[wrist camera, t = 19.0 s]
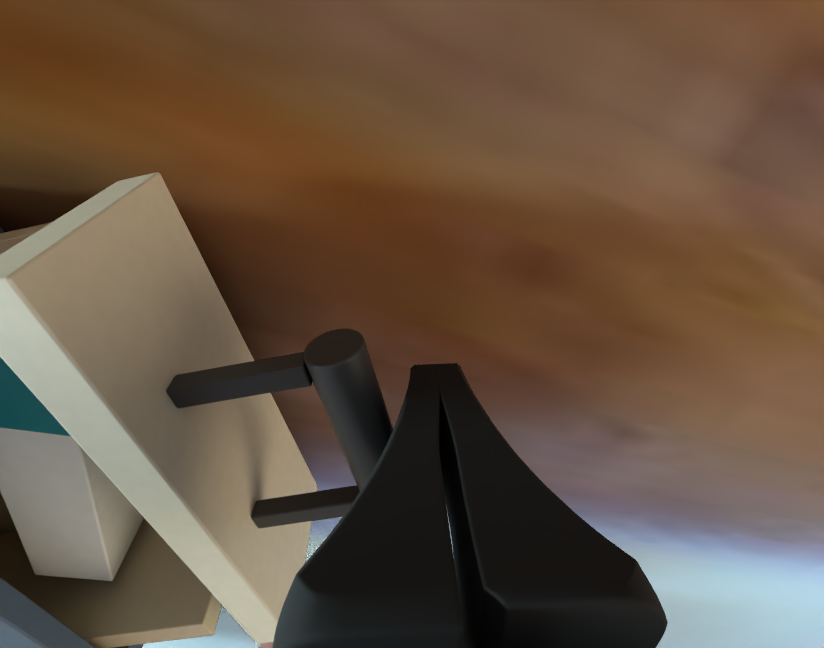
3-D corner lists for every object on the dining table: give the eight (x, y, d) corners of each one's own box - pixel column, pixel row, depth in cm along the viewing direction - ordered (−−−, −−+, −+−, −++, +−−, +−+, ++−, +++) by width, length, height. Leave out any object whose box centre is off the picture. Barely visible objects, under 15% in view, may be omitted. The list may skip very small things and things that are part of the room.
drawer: (336, 132, 12) (294, 218, 7) (429, 469, 19) (440, 622, 14) (-281, 268, 13) (-657, 413, 9) (25, 530, 21) (-86, 686, 16)
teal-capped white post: (153, 502, 18) (112, 585, 15) (83, 495, 18) (30, 578, 15) (126, 296, 13) (59, 367, 10) (27, 279, 12) (-69, 349, 10)
